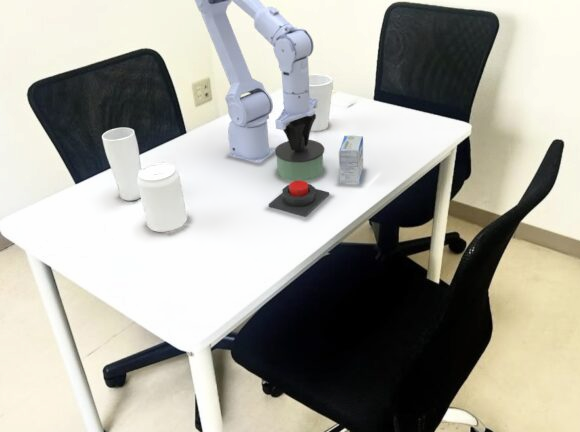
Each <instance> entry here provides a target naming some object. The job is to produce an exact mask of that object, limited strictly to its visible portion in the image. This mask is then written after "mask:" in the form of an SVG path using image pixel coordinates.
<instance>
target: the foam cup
mask: <svg viewBox="0 0 580 432" xmlns="http://www.w3.org/2000/svg"><path fill="white" fill-rule="evenodd" d="M333 90H334V78H333V77H332V76H330V75H327V74H321V73H313V74H309V92H310V98H314V99H317V101H318V107H317V108H313V109H312V110H314V111H315V114H316V119H315V120H314V122H313V125H312V127H311V130H310V132H320V131H324V130H326V129H328V128H329V123H330V122H329V121H330V112H331V104H332V95H333Z"/></svg>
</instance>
